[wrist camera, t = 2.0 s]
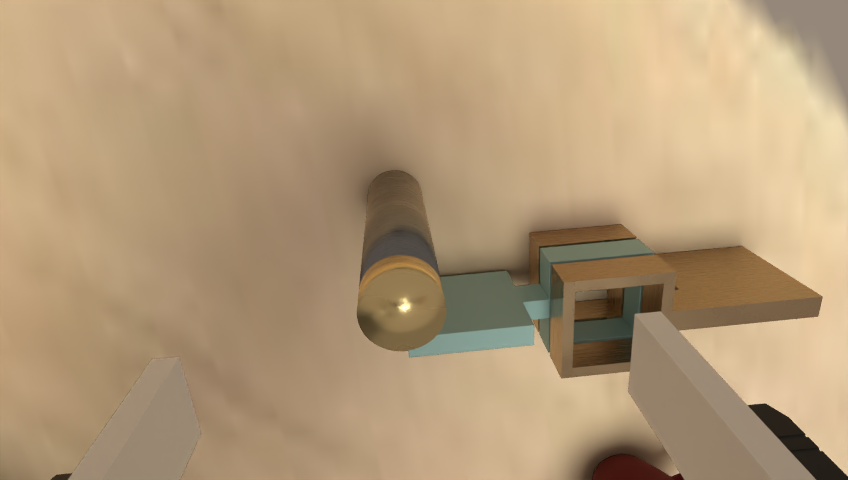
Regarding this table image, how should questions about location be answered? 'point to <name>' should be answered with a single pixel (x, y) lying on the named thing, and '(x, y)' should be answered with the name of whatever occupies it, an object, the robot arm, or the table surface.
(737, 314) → the square hinge knuckle
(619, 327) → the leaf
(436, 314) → the pin
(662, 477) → the mug
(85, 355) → the table surface
